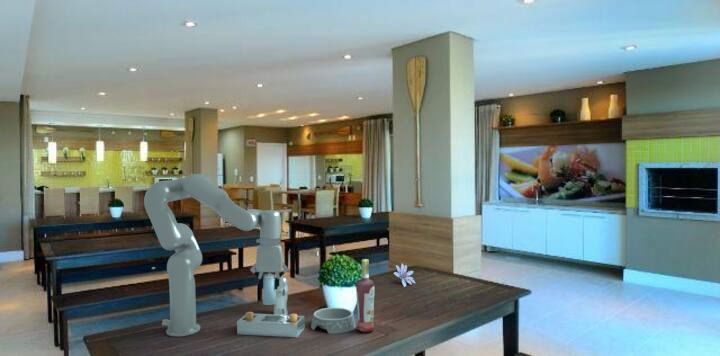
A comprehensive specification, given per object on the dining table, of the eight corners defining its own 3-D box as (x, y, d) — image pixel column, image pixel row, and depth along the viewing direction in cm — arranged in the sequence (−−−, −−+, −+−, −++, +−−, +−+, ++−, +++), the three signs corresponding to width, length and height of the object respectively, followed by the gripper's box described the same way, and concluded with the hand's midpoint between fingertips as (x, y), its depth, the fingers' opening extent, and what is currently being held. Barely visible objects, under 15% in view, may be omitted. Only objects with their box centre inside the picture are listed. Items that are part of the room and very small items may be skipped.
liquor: (368, 335, 181) (368, 262, 180) (352, 331, 185) (352, 260, 184) (378, 329, 187) (377, 259, 186) (362, 326, 191) (362, 257, 190)
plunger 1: (244, 326, 186) (244, 313, 186) (247, 323, 189) (247, 311, 189) (251, 326, 186) (251, 314, 185) (254, 324, 189) (254, 311, 188)
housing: (237, 334, 183) (237, 321, 183) (247, 325, 193) (247, 313, 193) (297, 337, 179) (297, 324, 179) (304, 328, 189) (304, 315, 189)
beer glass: (285, 316, 203) (284, 282, 203) (270, 315, 204) (269, 281, 204) (290, 311, 210) (290, 278, 209) (276, 310, 211) (275, 277, 211)
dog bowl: (327, 316, 204) (327, 304, 204) (363, 323, 195) (363, 310, 194) (302, 328, 190) (302, 315, 189) (340, 337, 180) (340, 323, 180)
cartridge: (263, 301, 188) (263, 272, 187) (276, 301, 188) (276, 272, 188) (262, 305, 183) (262, 275, 182) (275, 304, 183) (275, 275, 183)
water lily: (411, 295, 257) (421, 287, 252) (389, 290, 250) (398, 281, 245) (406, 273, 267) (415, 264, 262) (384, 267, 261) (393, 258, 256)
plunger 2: (288, 328, 183) (288, 315, 183) (290, 326, 186) (290, 313, 186) (296, 329, 183) (295, 316, 182) (298, 326, 186) (298, 313, 185)
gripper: (246, 243, 180) (245, 291, 181) (291, 244, 182) (290, 290, 182) (248, 240, 188) (248, 285, 188) (292, 240, 189) (291, 285, 190)
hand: (269, 287), depth 185 cm, fingers closed on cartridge, 5 cm apart
